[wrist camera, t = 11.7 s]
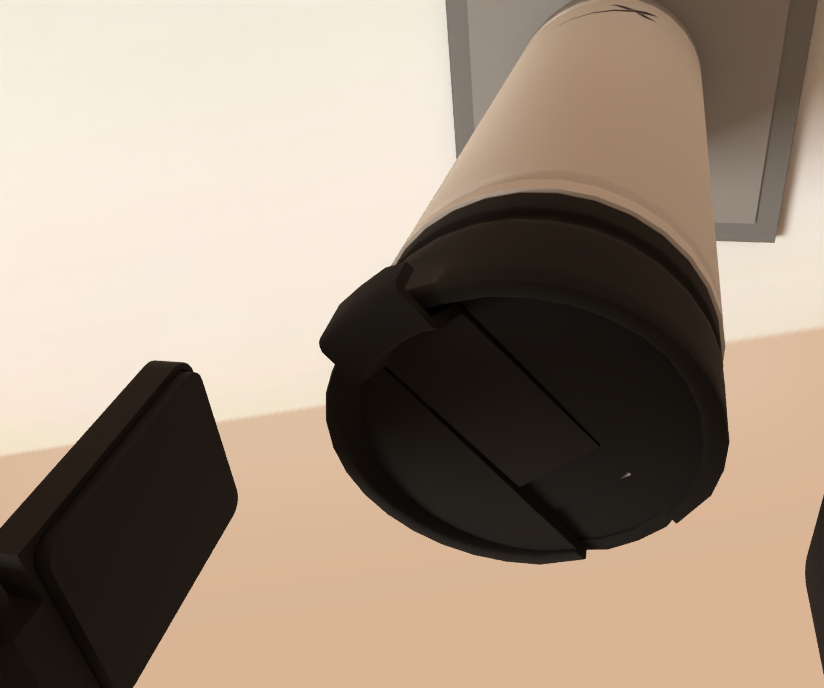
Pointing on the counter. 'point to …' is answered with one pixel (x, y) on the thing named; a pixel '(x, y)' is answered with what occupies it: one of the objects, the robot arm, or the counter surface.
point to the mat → (721, 82)
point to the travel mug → (550, 310)
